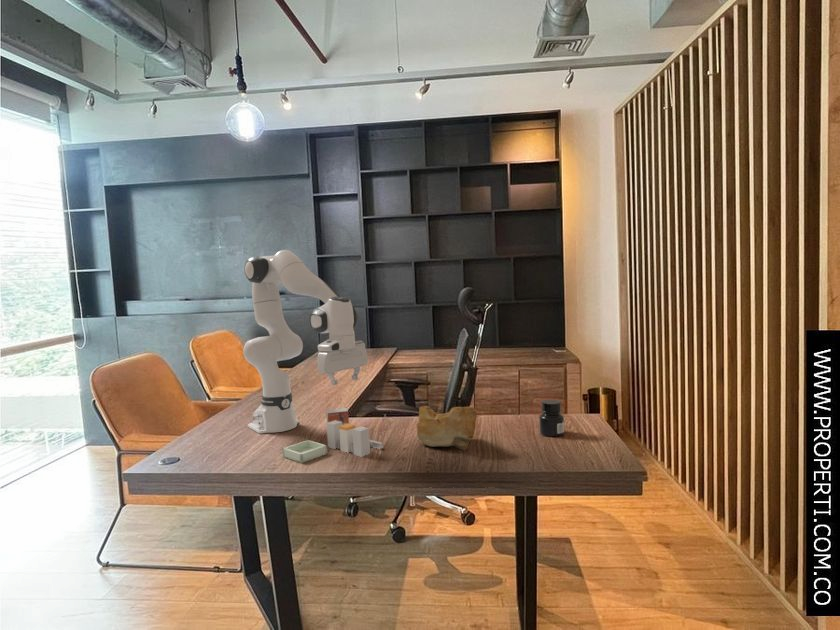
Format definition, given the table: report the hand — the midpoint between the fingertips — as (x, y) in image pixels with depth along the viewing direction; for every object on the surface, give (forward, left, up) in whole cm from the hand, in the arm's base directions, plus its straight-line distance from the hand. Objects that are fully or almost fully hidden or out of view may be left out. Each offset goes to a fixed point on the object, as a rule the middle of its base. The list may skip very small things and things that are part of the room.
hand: (344, 382), depth 172 cm
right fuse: (+7, 0, -25) cm, 25 cm away
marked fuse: (0, 0, -25) cm, 25 cm away
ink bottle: (+51, +55, -25) cm, 79 cm away
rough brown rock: (+27, +26, -25) cm, 45 cm away
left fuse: (-7, 0, -25) cm, 25 cm away
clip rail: (0, +4, -24) cm, 25 cm away
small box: (-15, +8, -25) cm, 30 cm away
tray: (-9, -12, -24) cm, 29 cm away
